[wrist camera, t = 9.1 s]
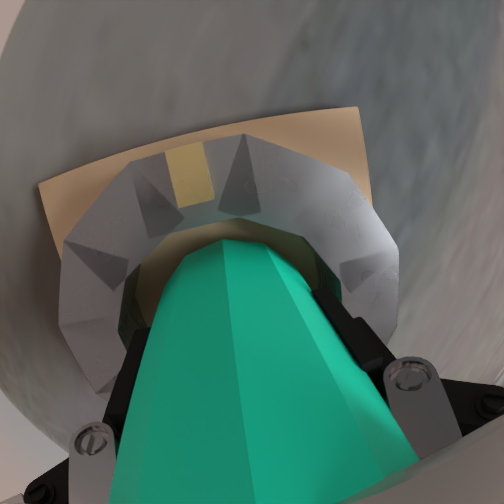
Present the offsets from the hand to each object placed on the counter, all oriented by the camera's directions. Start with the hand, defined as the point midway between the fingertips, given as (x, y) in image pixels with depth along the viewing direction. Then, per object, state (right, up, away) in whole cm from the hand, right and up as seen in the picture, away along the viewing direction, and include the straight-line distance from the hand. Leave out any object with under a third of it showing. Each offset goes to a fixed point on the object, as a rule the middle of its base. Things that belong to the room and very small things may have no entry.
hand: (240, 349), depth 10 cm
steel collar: (-1, +2, +4) cm, 5 cm away
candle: (0, +1, +3) cm, 3 cm away
